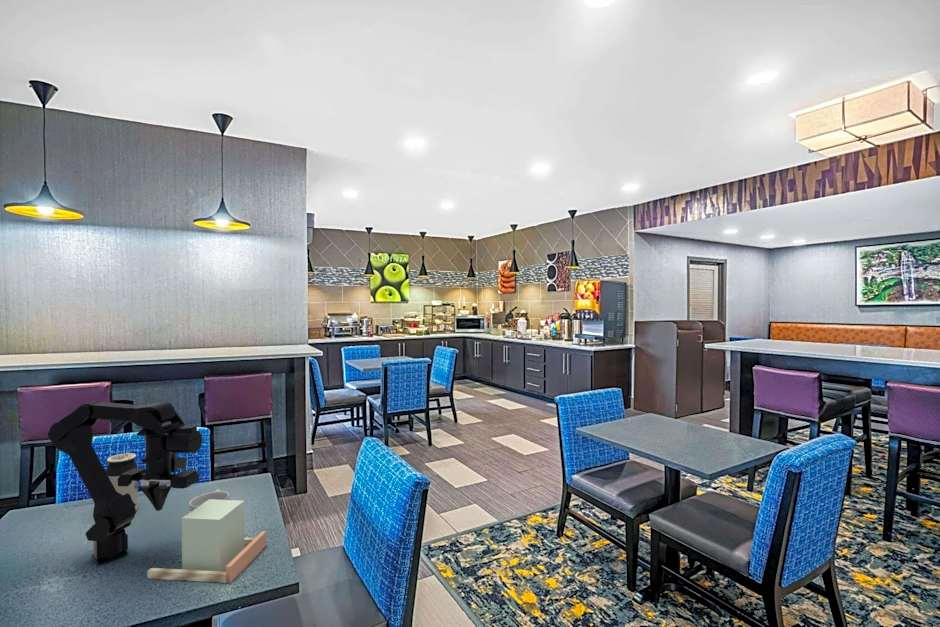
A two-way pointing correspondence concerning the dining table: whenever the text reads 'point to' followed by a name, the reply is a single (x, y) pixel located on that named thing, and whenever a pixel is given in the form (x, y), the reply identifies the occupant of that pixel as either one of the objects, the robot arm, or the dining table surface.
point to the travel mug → (118, 467)
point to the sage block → (212, 535)
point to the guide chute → (232, 571)
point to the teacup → (204, 497)
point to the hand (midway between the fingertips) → (159, 510)
